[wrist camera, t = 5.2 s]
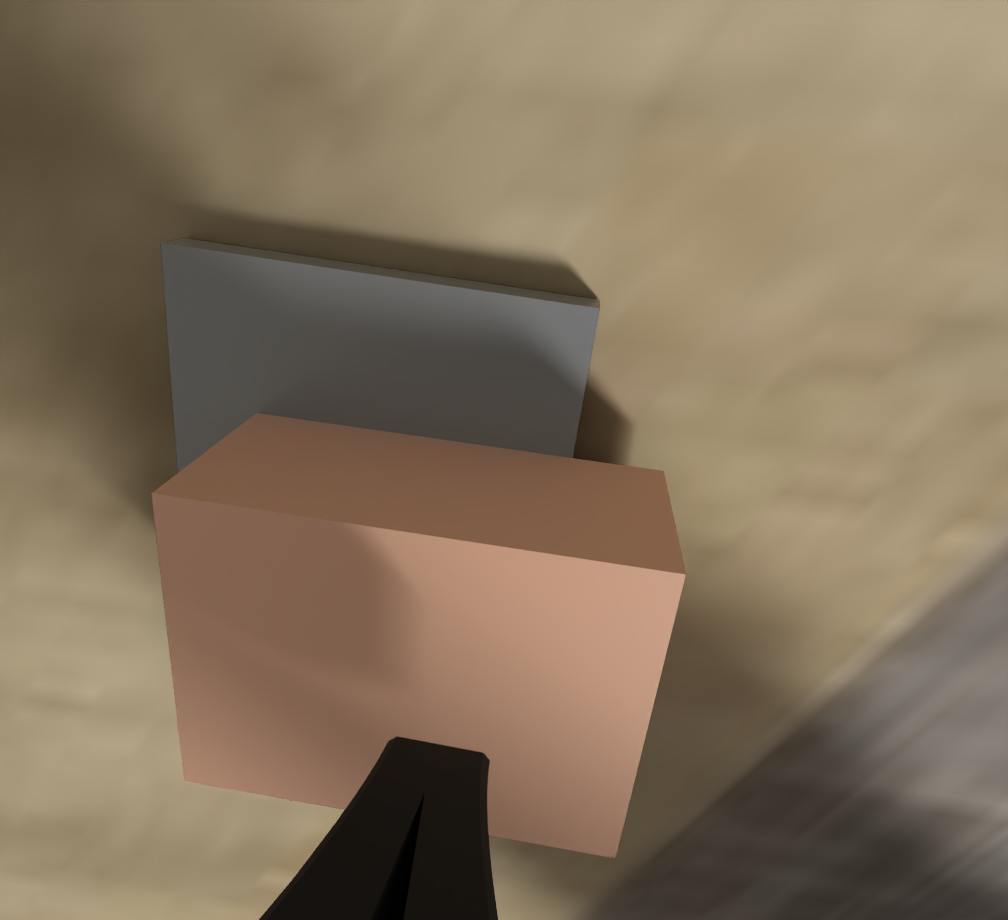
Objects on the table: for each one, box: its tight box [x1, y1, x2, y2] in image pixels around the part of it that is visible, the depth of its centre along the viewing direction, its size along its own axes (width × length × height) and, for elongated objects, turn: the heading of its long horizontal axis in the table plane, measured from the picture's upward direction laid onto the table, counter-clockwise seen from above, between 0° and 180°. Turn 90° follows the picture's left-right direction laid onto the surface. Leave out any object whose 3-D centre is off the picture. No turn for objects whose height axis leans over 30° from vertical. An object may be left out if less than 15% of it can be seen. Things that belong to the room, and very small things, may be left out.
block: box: [151, 413, 686, 858], centre depth 13 cm, size 4×6×8 cm
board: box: [161, 238, 600, 473], centre depth 15 cm, size 8×12×1 cm, turn 173°
